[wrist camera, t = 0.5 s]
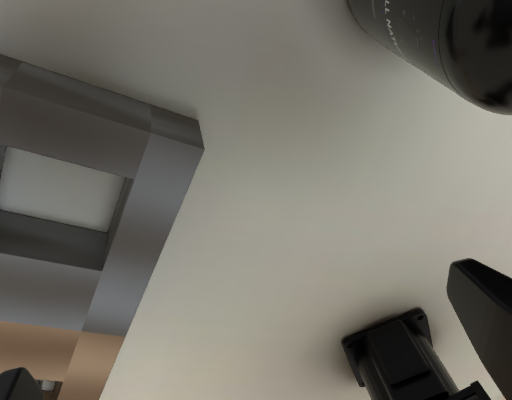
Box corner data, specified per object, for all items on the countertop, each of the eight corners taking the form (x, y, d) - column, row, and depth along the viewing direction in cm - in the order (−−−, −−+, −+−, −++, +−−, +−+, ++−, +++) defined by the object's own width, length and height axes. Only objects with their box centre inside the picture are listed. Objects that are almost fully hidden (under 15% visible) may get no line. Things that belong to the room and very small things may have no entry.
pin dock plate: (80, 413, 32) (74, 456, 29) (-85, 403, 28) (-107, 451, 26) (198, 120, 21) (204, 149, 19) (-42, 40, 17) (-73, 63, 15)
